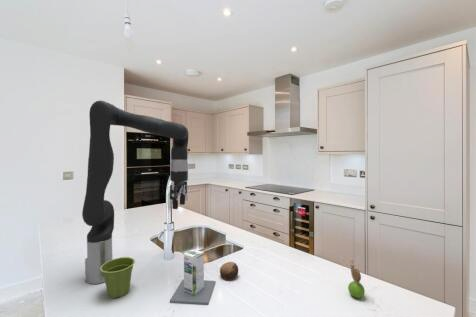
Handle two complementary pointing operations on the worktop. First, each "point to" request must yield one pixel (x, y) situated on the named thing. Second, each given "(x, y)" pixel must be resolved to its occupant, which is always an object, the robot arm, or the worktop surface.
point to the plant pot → (118, 276)
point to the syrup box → (193, 271)
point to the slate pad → (189, 298)
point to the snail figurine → (356, 283)
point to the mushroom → (229, 270)
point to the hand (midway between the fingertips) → (178, 206)
